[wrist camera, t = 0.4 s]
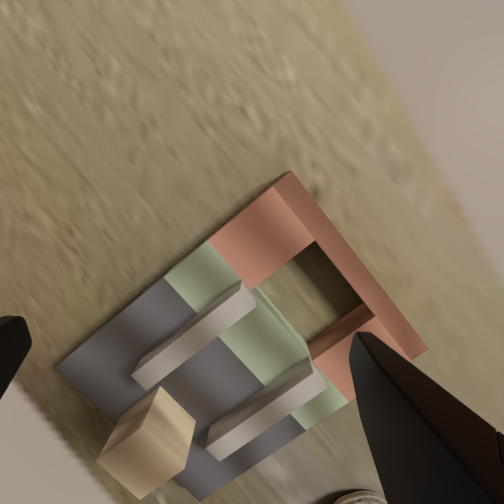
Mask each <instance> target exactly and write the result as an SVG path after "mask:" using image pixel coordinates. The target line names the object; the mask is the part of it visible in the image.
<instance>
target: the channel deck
mask: <svg viewBox="0 0 504 504" xmlns="http://www.w3.org/2000/svg"><path fill="white" fill-rule="evenodd" d="M313 241H315V242H316V243H317V245H318V246H319V247H320V248H321V250H322V251H323V252H324V253H325V255H326V256H327V257H328V258H329V260H330V261H331V262H332V263H333V265H334V266H335V267H336V268H337V270H338V271H339V272H340V274H341V275H342V276H343V277H344V279H345V280H346V281H347V282H348V284H349V285H350V286H351V287H352V289H353V290H354V291H355V292H356V294H357V295H358V296H359V297H360V299H361V300H362V301H363V303H362V304H360V305H359V306H357V307H356V308H355V309H353V310H352V311H351V312H349V313H348V314H346V315H345V316H344V317H342V318H341V319H339V320H338V321H337V322H335V323H334V324H332V325H331V326H330V327H328V328H327V329H326V330H324V331H323V332H321V333H320V334H319V335H317V336H316V337H314V338H313V339H312V340H310V341H309V342H307V343H306V341H305V340H304V339H303V338H302V337H301V336H300V334H299V333H298V332H297V331H296V330H295V329H294V328H293V326H292V325H291V324H290V323H289V322H288V321H287V319H286V318H285V317H284V316H283V315H282V314H281V313H280V311H279V310H278V309H277V308H276V307H275V306H274V304H273V303H272V302H271V301H270V300H269V299H268V297H267V296H266V295H265V294H264V293H263V292H262V291H261V289H260V288H259V287H258V286H257V285H258V284H260V283H261V282H262V281H263V280H265V279H266V278H267V277H268V276H270V275H271V274H272V273H274V272H275V271H276V270H277V269H279V268H280V267H281V266H283V265H284V264H285V263H286V262H288V261H289V260H290V259H292V258H293V257H294V256H295V255H297V254H298V253H299V252H301V251H302V250H303V249H304V248H306V247H307V246H308V245H310V244H311V243H312V242H313ZM356 331H365V332H371V333H373V334H374V335H375V336H377V337H378V338H379V339H380V340H382V341H383V342H384V343H386V344H387V345H388V346H389V347H391V348H392V349H393V350H395V351H396V352H397V353H399V354H400V355H401V356H402V357H404V358H405V359H406V360H408V361H409V362H410V361H411V360H413V359H414V358H416V357H417V356H419V355H420V354H422V353H423V352H425V351H426V350H428V349H429V348H428V347H427V346H426V345H425V343H424V342H423V341H422V339H421V338H420V337H419V335H418V334H417V333H416V332H415V330H414V329H413V328H412V326H411V325H410V324H409V323H408V321H407V320H406V319H405V317H404V316H403V315H402V313H401V312H400V311H399V310H398V308H397V307H396V306H395V304H394V303H393V302H392V300H391V299H390V298H389V297H388V295H387V294H386V293H385V291H384V290H383V289H382V288H381V286H380V285H379V284H378V282H377V281H376V280H375V278H374V277H373V276H372V275H371V273H370V272H369V271H368V269H367V268H366V267H365V266H364V264H363V263H362V262H361V260H360V259H359V258H358V256H357V255H356V254H355V253H354V251H353V250H352V249H351V247H350V246H349V245H348V243H347V242H346V241H345V240H344V238H343V237H342V236H341V234H340V233H339V232H338V231H337V229H336V228H335V227H334V225H333V224H332V223H331V221H330V220H329V219H328V218H327V216H326V215H325V214H324V212H323V211H322V210H321V209H320V207H319V206H318V205H317V203H316V202H315V201H314V199H313V198H312V197H311V196H310V194H309V193H308V192H307V190H306V189H305V188H304V187H303V185H302V184H301V183H300V181H299V180H298V179H297V177H296V176H295V175H294V174H293V172H292V171H288V172H286V173H285V174H284V175H282V176H281V177H280V178H279V179H278V180H276V181H275V182H274V183H273V184H272V185H271V186H269V187H268V188H267V189H266V190H265V191H263V192H262V193H261V194H260V195H259V196H257V197H256V198H255V199H254V200H253V201H251V202H250V203H249V204H248V205H247V206H245V207H244V208H243V209H242V210H241V211H239V212H238V213H237V214H236V215H235V216H233V217H232V218H231V219H230V220H229V221H227V222H226V223H225V224H224V225H223V226H221V227H220V228H219V229H218V230H217V231H215V232H214V233H213V234H212V235H211V236H209V237H208V238H207V239H206V240H205V241H203V242H202V243H201V244H200V245H199V246H197V247H196V248H195V249H194V250H193V251H191V252H190V253H189V254H188V255H187V256H185V257H184V258H183V259H182V260H181V261H180V262H178V263H177V264H176V265H175V266H174V267H172V268H171V269H170V270H169V271H168V272H166V273H165V274H164V275H163V276H162V277H160V278H159V279H158V280H157V281H156V282H154V283H153V284H152V285H151V286H150V287H148V288H147V289H146V290H145V291H144V292H142V293H141V294H140V295H139V296H138V297H136V298H135V299H134V300H133V301H132V302H130V303H129V304H128V305H127V306H126V307H124V308H123V309H122V310H121V311H120V312H118V313H117V314H116V315H115V316H114V317H112V318H111V319H110V320H109V321H108V322H106V323H105V324H104V325H103V326H102V327H100V328H99V329H98V330H97V331H96V332H94V333H93V334H92V335H91V336H90V337H88V338H87V339H86V340H85V341H84V342H83V343H81V344H80V345H79V346H78V347H77V348H75V349H74V350H73V351H72V352H71V353H70V354H69V355H68V356H67V357H66V358H65V359H63V360H62V361H61V362H60V363H59V364H58V365H57V366H56V367H55V369H56V370H57V371H58V372H59V373H60V374H61V375H63V376H64V377H65V378H66V379H67V380H68V381H69V382H70V383H71V384H72V385H73V386H74V387H76V388H77V389H78V390H79V391H80V392H81V393H82V394H83V395H84V396H85V397H86V398H87V399H89V400H90V401H91V402H92V403H93V404H94V405H95V406H96V407H97V408H98V409H99V410H101V411H102V412H103V413H104V414H105V415H106V416H107V417H108V418H109V419H110V420H111V421H112V422H114V423H115V424H116V425H117V423H118V421H119V419H120V417H121V416H122V414H124V413H125V412H126V411H128V410H129V409H130V408H132V407H133V406H134V405H135V404H137V403H138V402H139V401H141V400H142V399H143V398H145V397H146V396H147V395H149V394H150V393H151V392H153V391H154V390H155V389H156V388H158V387H159V386H161V387H162V388H163V389H164V390H165V391H166V392H167V393H168V394H169V395H170V396H171V397H172V398H173V399H174V400H175V401H176V402H177V403H178V404H179V405H180V406H181V407H182V408H183V409H184V410H185V411H186V412H187V413H188V414H189V415H190V416H191V417H192V418H193V419H194V420H195V421H196V424H195V428H194V432H193V436H192V440H191V444H190V448H189V453H188V457H187V461H186V465H185V469H184V470H182V471H181V472H179V473H178V474H176V475H175V476H174V477H173V478H174V479H175V480H177V481H178V482H179V483H180V484H181V485H182V486H183V487H184V488H185V489H186V490H187V491H189V492H190V493H191V494H192V495H193V496H194V497H195V498H196V499H197V500H198V501H199V502H200V501H201V500H203V499H204V498H206V497H207V496H209V495H210V494H212V493H213V492H215V491H216V490H218V489H219V488H221V487H222V486H224V485H225V484H227V483H228V482H230V481H231V480H233V479H234V478H236V477H237V476H239V475H240V474H242V473H243V472H245V471H246V470H248V469H249V468H251V467H252V466H254V465H255V464H257V463H258V462H260V461H261V460H263V459H264V458H266V457H267V456H269V455H270V454H272V453H273V452H275V451H276V450H278V449H279V448H281V447H282V446H284V445H285V444H287V443H288V442H290V441H291V440H293V439H294V438H296V437H297V436H299V435H300V434H302V433H303V432H305V431H306V430H308V429H309V428H311V427H312V426H314V425H315V424H317V423H318V422H320V421H321V420H323V419H324V418H326V417H327V416H329V415H330V414H332V413H333V412H335V411H336V410H338V409H339V408H341V407H342V406H344V405H345V404H347V403H348V402H350V401H351V400H353V399H354V398H356V395H355V390H354V385H353V380H352V375H351V370H350V365H349V352H350V348H351V343H352V338H353V335H354V333H355V332H356Z"/></svg>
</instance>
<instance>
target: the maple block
mask: <svg viewBox="0 0 504 504" xmlns="http://www.w3.org/2000/svg"><path fill="white" fill-rule="evenodd" d="M195 424H196V421H195V420H194V419H193V418H192V417H191V416H190V415H189V414H188V413H187V412H186V411H185V410H184V409H183V408H182V407H181V406H180V405H179V404H178V403H177V402H176V401H175V400H174V399H173V398H172V397H171V396H170V395H169V394H168V393H167V392H166V391H165V390H164V389H163V388H162V387H161V386H159V387H158V388H156V389H155V390H154V391H153V392H151V393H150V394H149V395H147V396H146V397H145V398H143V399H142V400H141V401H139V402H138V403H137V404H135V405H134V406H133V407H132V408H130V409H129V410H128V411H126V412H125V413H124V414H122V416H121V417H120V419H119V421H118V423H117V425H116V426H115V428H114V430H113V432H112V433H111V435H110V437H109V439H108V441H107V442H106V444H105V446H104V448H103V449H102V451H101V453H100V455H99V457H98V458H97V460H96V462H97V463H98V464H99V465H101V466H102V467H103V468H104V469H105V470H106V471H107V472H109V473H110V474H111V475H112V476H113V477H114V478H115V479H116V480H118V481H119V482H120V483H121V484H122V485H123V486H124V487H126V488H127V489H128V490H129V491H130V492H131V493H132V494H134V495H135V496H136V497H137V498H138V499H139V500H140V499H142V498H143V497H145V496H146V495H148V494H149V493H150V492H152V491H153V490H155V489H156V488H158V487H159V486H161V485H162V484H163V483H165V482H166V481H168V480H169V479H171V478H172V477H174V476H175V475H176V474H178V473H179V472H181V471H182V470H184V469H185V465H186V461H187V457H188V453H189V448H190V444H191V440H192V436H193V432H194V428H195Z"/></svg>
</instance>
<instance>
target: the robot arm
mask: <svg viewBox="0 0 504 504" xmlns="http://www.w3.org/2000/svg"><path fill="white" fill-rule="evenodd" d="M31 345H32V339H31V336H30V333H29V330H28V327H27V323H26V321H25V319H24V318H23V317H21V316H3V317H1V318H0V399H1V397H2V396H3V394H4V393H5V391H6V389H7V388H8V386H9V384H10V382H11V381H12V379H13V377H14V376H15V374H16V372H17V371H18V369H19V367H20V366H21V364H22V362H23V360H24V359H25V357H26V355H27V354H28V352H29V350H30V348H31ZM349 365H350V370H351V375H352V380H353V385H354V390H355V395H356V400H357V405H358V409H359V414H360V418H361V422H362V425H363V428H364V432H365V435H366V438H367V441H368V444H369V447H370V450H371V453H372V457H373V460H374V463H375V466H376V469H377V472H378V475H379V479H380V482H381V485H382V488H383V491H384V494H385V497H386V501H387V504H504V435H503V434H502V433H501V432H496V429H495V428H494V427H493V426H491V425H490V424H489V423H488V422H486V421H485V420H484V419H482V418H481V417H480V416H479V415H477V414H476V413H475V412H473V411H472V410H471V409H470V408H468V407H467V406H466V405H464V404H463V403H462V402H460V401H459V400H458V399H457V398H455V397H454V396H453V395H451V394H450V393H449V392H448V391H446V390H445V389H444V388H442V387H441V386H440V385H439V384H437V383H436V382H435V381H433V380H432V379H431V378H430V377H428V376H427V375H426V374H424V373H423V372H422V371H420V370H419V369H418V368H417V367H415V366H414V365H413V364H411V363H410V362H409V361H408V360H406V359H405V358H404V357H402V356H401V355H400V354H399V353H397V352H396V351H395V350H393V349H392V348H391V347H389V346H388V345H387V344H386V343H384V342H383V341H382V340H380V339H379V338H378V337H377V336H375V335H374V334H373V333H371V332H365V331H356V332H355V333H354V335H353V338H352V343H351V348H350V352H349Z"/></svg>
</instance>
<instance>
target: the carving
mask: <svg viewBox="0 0 504 504" xmlns="http://www.w3.org/2000/svg"><path fill="white" fill-rule="evenodd" d="M334 504H387V501H386V500H385V499H384V498H383V497H382V496H381V495H380V494H378V493H375V492H372V491H357V492H353V493H350V494H347V495H344V496H342V497H340V498H339V499H338V500H337V501H336V502H335V503H334Z"/></svg>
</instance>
